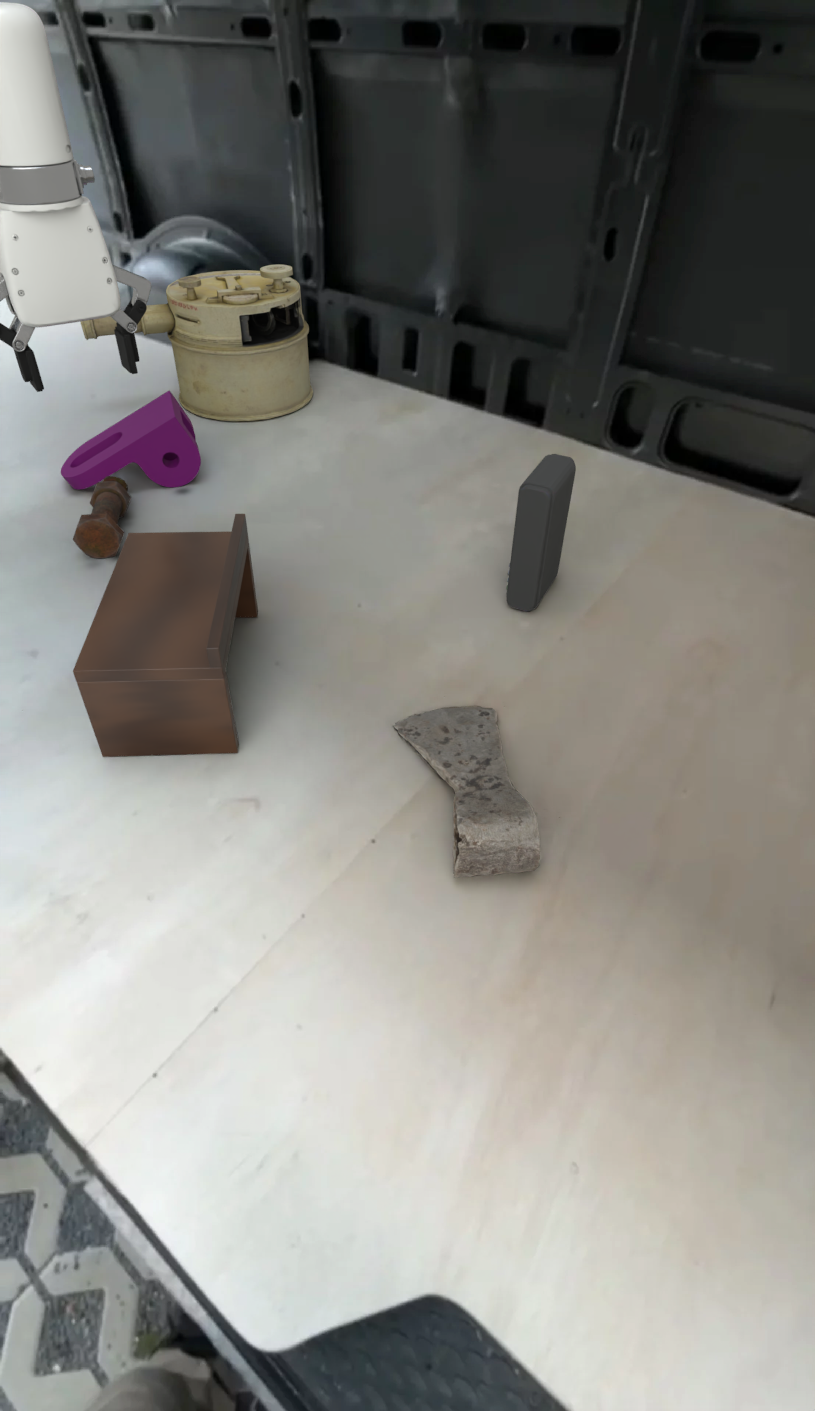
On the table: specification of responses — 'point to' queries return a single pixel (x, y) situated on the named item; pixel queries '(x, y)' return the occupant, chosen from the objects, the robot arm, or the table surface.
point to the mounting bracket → (140, 447)
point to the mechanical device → (232, 342)
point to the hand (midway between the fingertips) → (84, 378)
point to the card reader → (539, 531)
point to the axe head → (477, 790)
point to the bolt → (103, 519)
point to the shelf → (167, 644)
